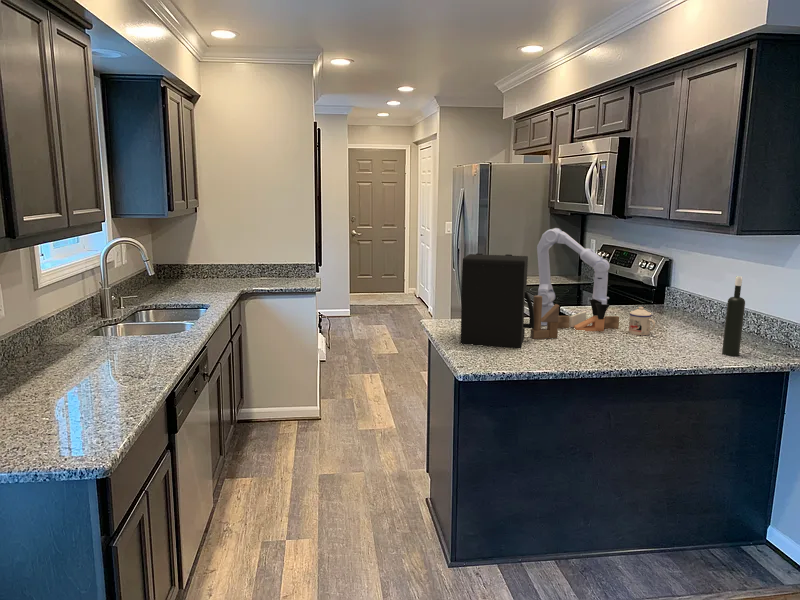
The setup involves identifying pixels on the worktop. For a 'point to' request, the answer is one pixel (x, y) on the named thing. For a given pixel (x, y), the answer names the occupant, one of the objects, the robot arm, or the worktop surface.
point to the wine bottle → (734, 322)
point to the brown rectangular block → (608, 324)
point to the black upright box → (494, 300)
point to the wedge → (596, 324)
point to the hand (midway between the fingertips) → (598, 317)
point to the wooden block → (544, 320)
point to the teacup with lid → (640, 322)
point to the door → (577, 319)
